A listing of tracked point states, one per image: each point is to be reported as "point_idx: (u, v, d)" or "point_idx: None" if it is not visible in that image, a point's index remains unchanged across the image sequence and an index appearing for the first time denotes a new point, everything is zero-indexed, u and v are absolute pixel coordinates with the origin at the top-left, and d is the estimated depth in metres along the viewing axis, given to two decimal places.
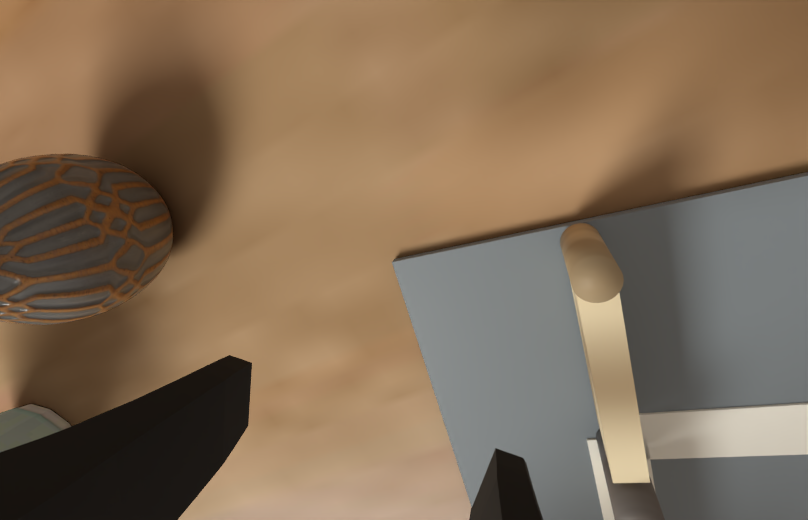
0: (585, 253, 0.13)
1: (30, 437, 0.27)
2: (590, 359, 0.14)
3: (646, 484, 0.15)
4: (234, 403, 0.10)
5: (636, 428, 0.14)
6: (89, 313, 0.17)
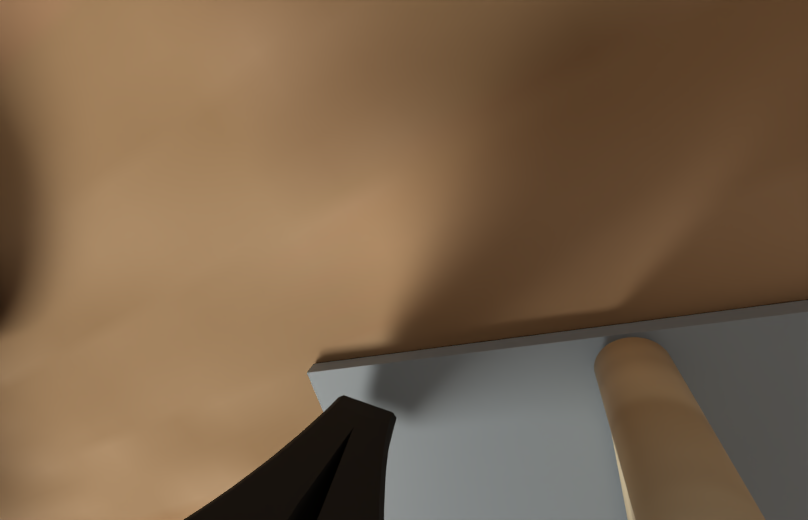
0: (674, 465, 0.05)
1: None
2: None
3: None
4: None
5: None
6: None
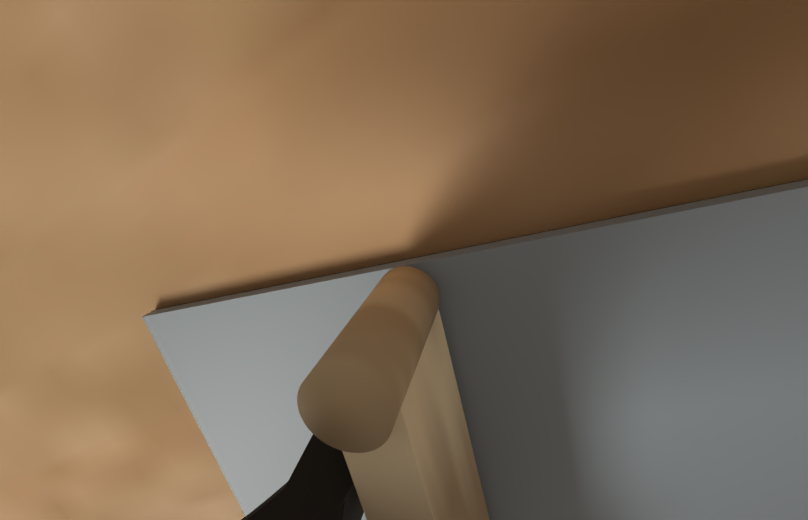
0: (339, 345, 0.06)
1: None
2: None
3: None
4: None
5: None
6: None
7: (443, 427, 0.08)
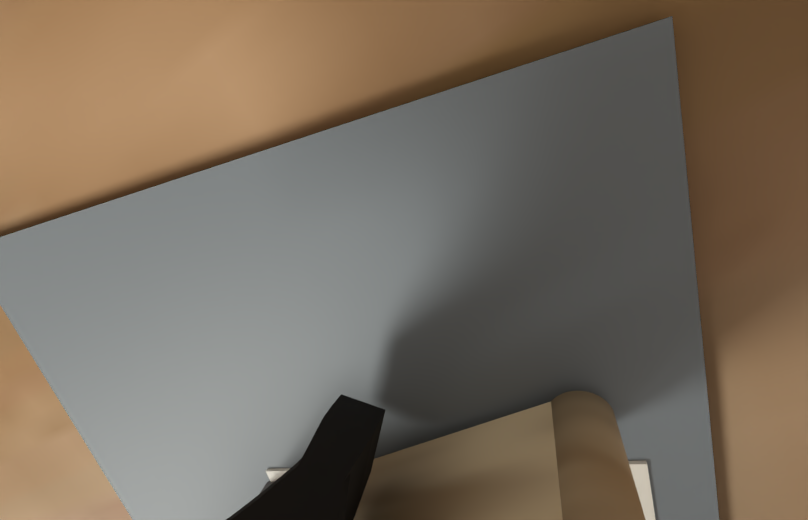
0: None
1: None
2: None
3: None
4: (371, 453, 0.09)
5: None
6: None
7: None
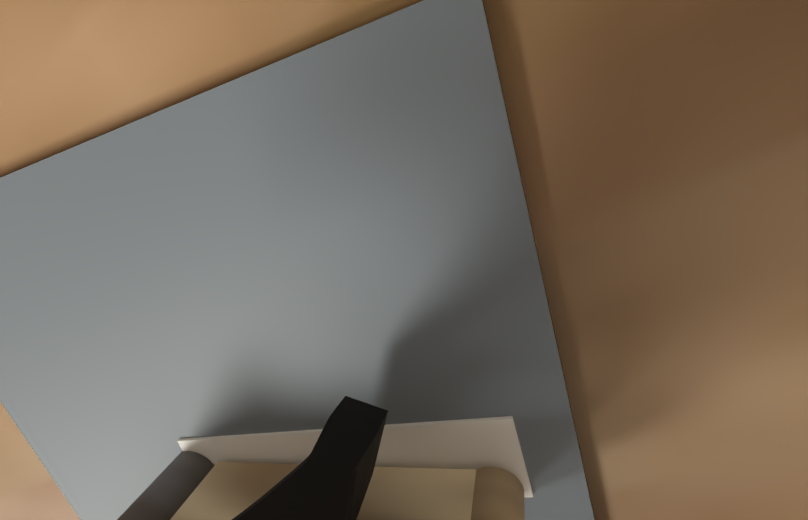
0: None
1: None
2: None
3: None
4: (373, 454, 0.09)
5: None
6: None
7: None
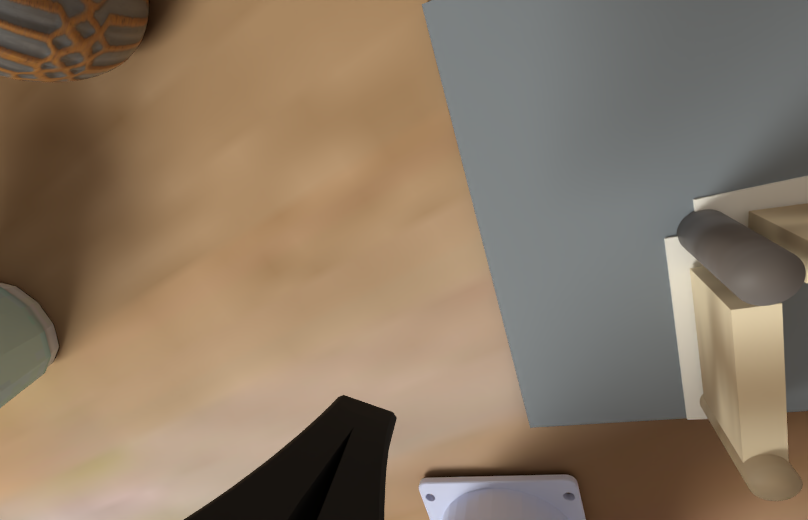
0: None
1: None
2: None
3: (766, 238, 0.12)
4: None
5: None
6: (35, 51, 0.13)
7: None
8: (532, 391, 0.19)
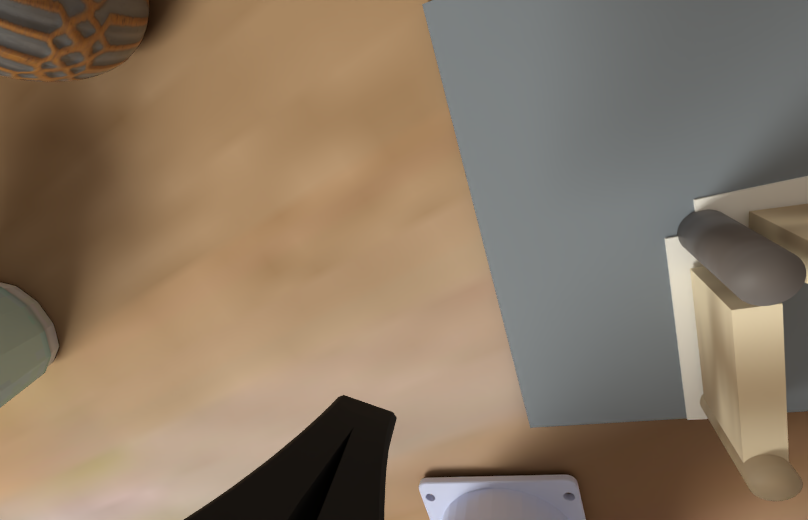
0: None
1: None
2: None
3: None
4: None
5: None
6: (36, 50, 0.13)
7: None
8: (532, 391, 0.19)
